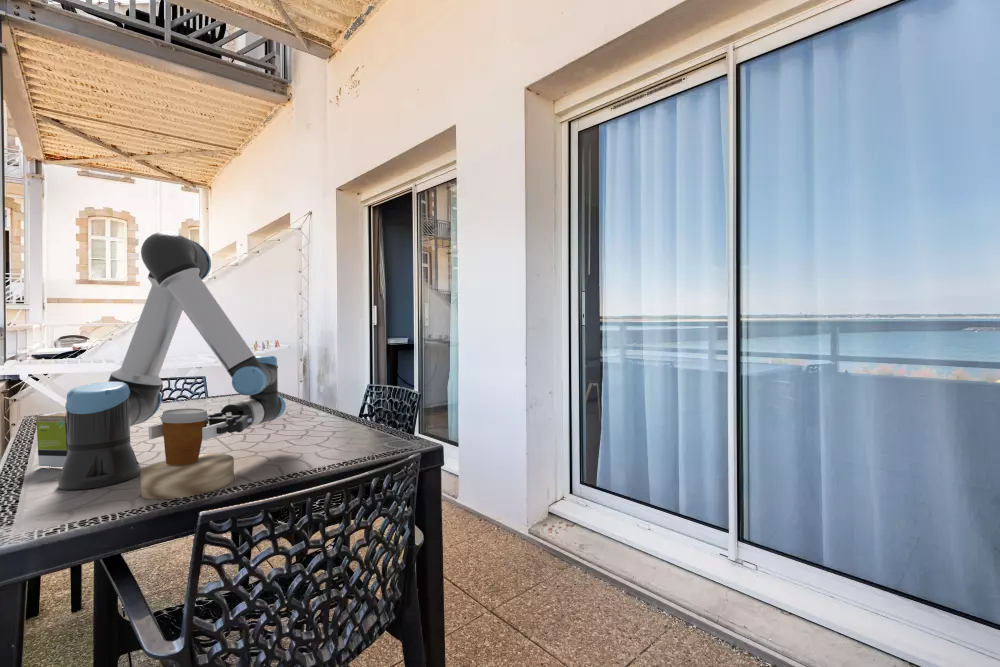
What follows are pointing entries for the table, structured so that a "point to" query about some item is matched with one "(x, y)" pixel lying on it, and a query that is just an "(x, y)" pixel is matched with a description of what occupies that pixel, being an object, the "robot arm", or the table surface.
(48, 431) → the tea box
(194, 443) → the disposable coffee cup
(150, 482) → the wooden plinth
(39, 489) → the table surface
